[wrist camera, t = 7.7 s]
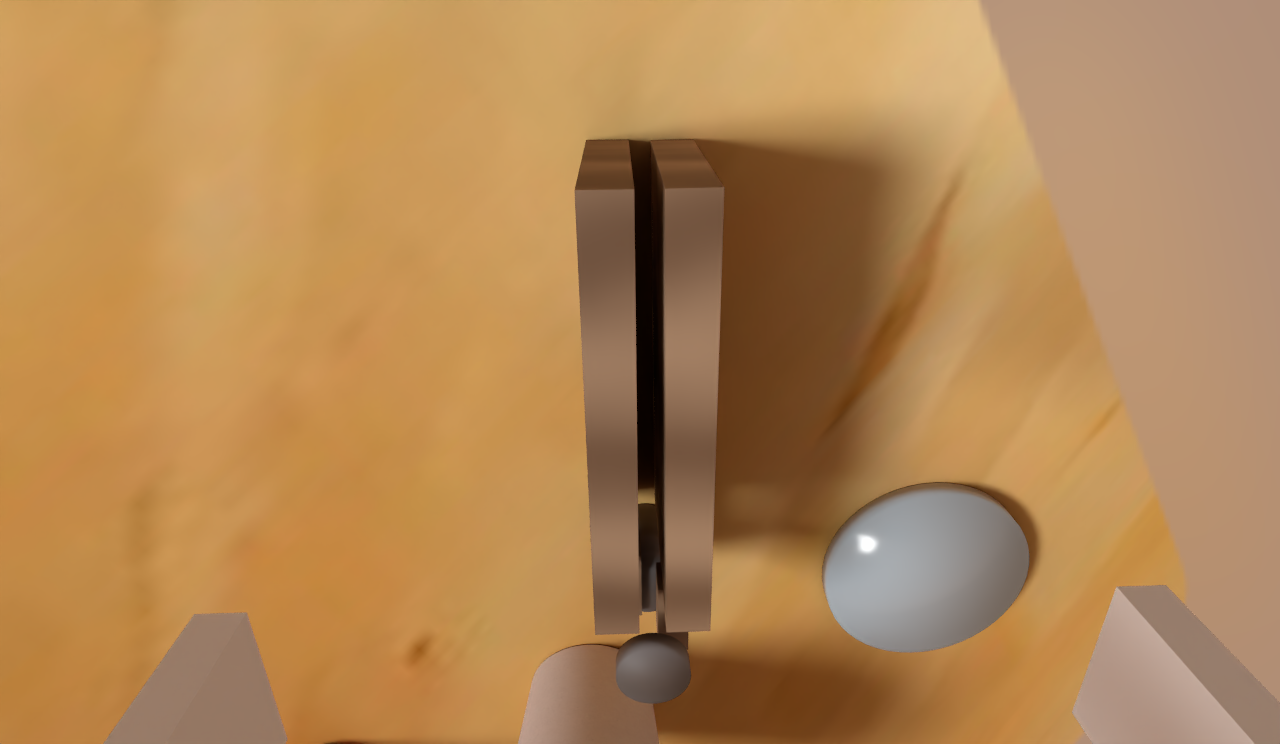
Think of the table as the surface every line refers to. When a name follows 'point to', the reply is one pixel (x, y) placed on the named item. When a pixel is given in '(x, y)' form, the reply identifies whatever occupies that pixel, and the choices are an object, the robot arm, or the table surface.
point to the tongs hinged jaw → (685, 378)
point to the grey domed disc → (924, 567)
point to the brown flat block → (618, 428)
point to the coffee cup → (584, 702)
